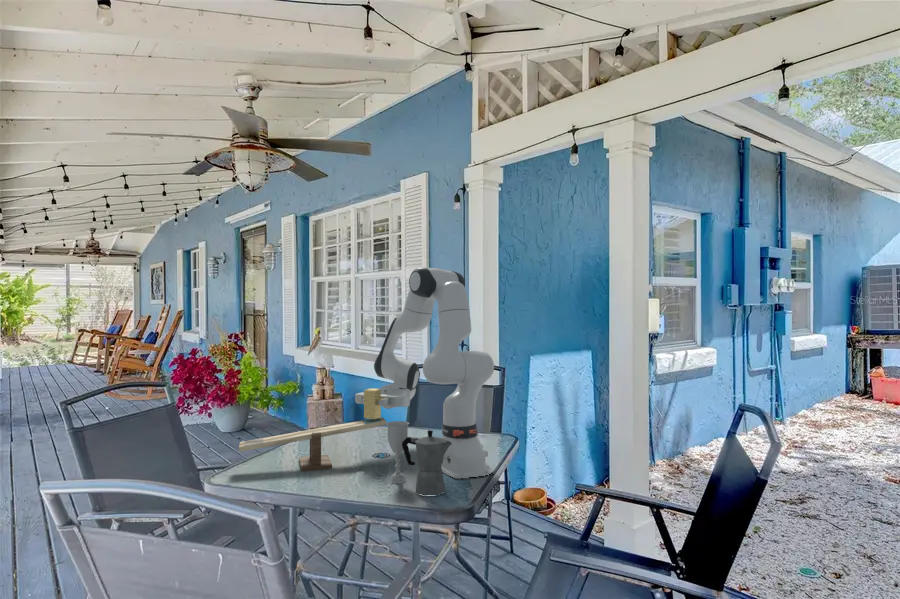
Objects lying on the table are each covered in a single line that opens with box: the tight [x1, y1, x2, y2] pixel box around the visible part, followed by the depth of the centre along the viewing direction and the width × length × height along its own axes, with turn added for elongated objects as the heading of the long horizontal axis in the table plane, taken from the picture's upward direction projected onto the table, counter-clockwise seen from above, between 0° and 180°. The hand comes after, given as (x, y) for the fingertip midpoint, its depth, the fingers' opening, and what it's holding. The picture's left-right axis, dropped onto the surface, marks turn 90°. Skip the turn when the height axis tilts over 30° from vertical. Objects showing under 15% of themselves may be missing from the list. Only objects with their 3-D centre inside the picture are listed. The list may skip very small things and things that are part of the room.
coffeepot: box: [402, 429, 452, 495], centre depth 159 cm, size 15×9×18 cm, turn 75°
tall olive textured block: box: [363, 387, 382, 420], centre depth 193 cm, size 4×4×10 cm
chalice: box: [385, 420, 410, 484], centre depth 168 cm, size 7×7×18 cm
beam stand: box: [298, 426, 333, 473], centre depth 187 cm, size 14×10×12 cm
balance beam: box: [238, 416, 387, 453], centre depth 187 cm, size 7×49×2 cm, turn 108°
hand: (371, 402), depth 192 cm, fingers closed on tall olive textured block, 4 cm apart
